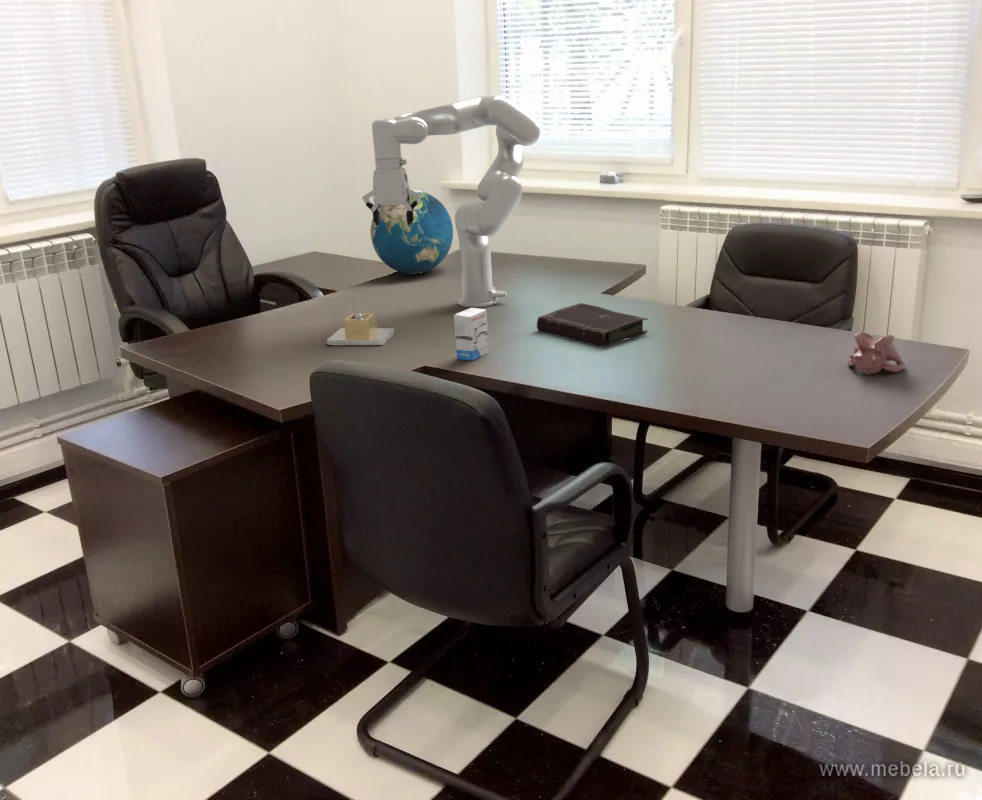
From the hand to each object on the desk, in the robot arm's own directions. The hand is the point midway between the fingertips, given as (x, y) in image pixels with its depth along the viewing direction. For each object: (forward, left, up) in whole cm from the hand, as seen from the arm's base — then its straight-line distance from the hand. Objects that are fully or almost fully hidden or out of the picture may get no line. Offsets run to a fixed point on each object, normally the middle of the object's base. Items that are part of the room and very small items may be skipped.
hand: (393, 224), depth 272 cm
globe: (+12, -63, -28) cm, 70 cm away
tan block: (+6, +22, -27) cm, 35 cm away
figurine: (-125, +47, -29) cm, 137 cm away
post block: (+6, +22, -28) cm, 36 cm away
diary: (-58, +15, -29) cm, 67 cm away
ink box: (-29, +37, -29) cm, 55 cm away
